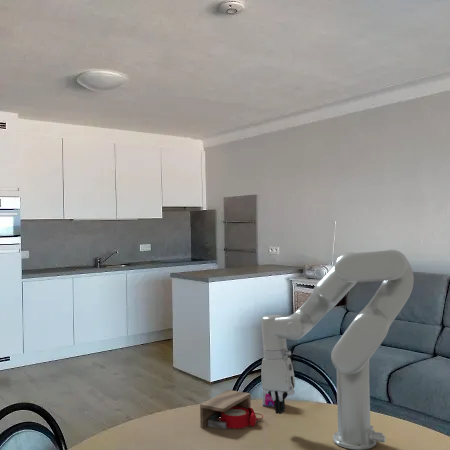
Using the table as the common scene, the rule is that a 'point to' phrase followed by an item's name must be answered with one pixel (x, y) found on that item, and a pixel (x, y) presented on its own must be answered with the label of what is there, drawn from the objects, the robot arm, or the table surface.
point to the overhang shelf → (222, 407)
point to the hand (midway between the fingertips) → (280, 412)
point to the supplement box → (267, 400)
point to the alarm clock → (239, 417)
